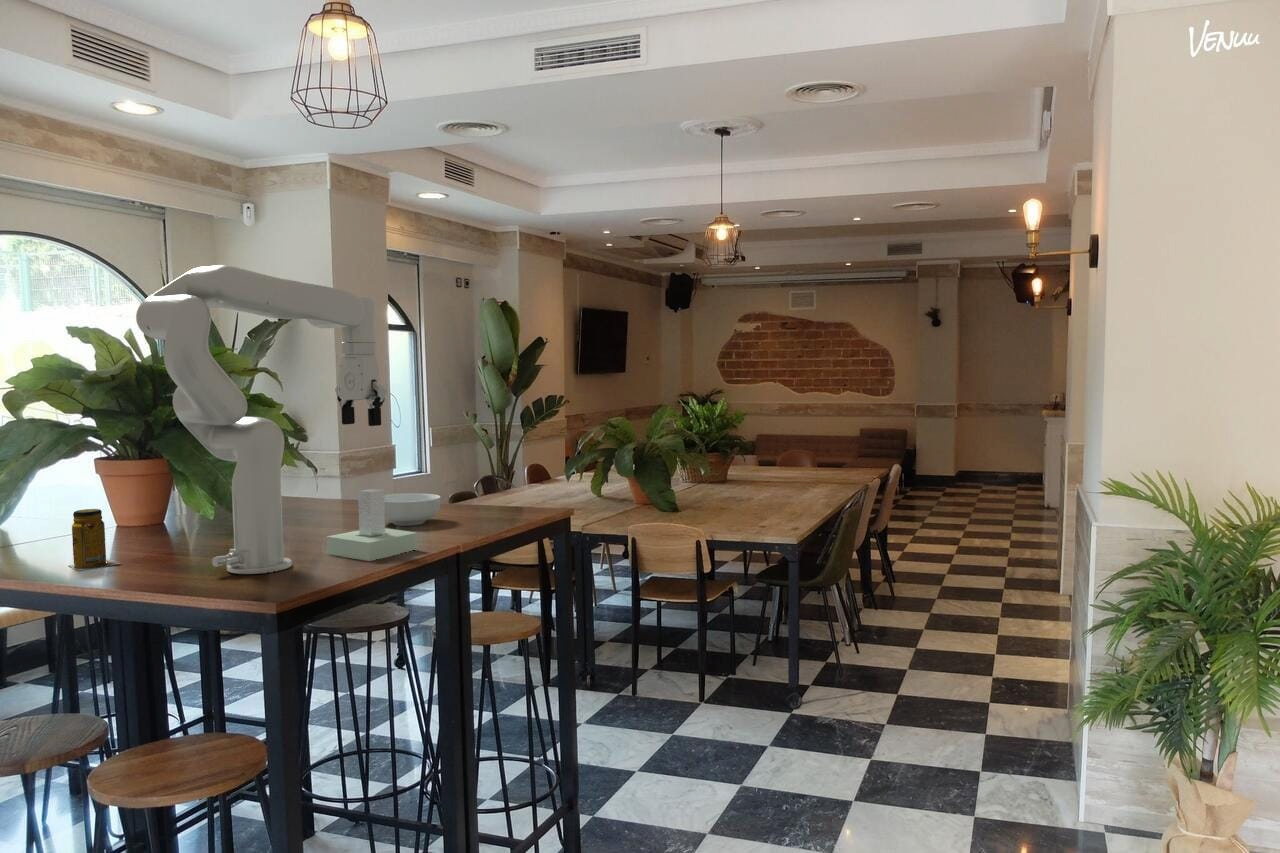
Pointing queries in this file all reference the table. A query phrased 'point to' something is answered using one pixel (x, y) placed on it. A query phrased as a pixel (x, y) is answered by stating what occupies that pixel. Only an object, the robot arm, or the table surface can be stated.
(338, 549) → the green square socket block
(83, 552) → the condiment
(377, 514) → the white rectangular block
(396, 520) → the cereal bowl
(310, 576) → the table surface
